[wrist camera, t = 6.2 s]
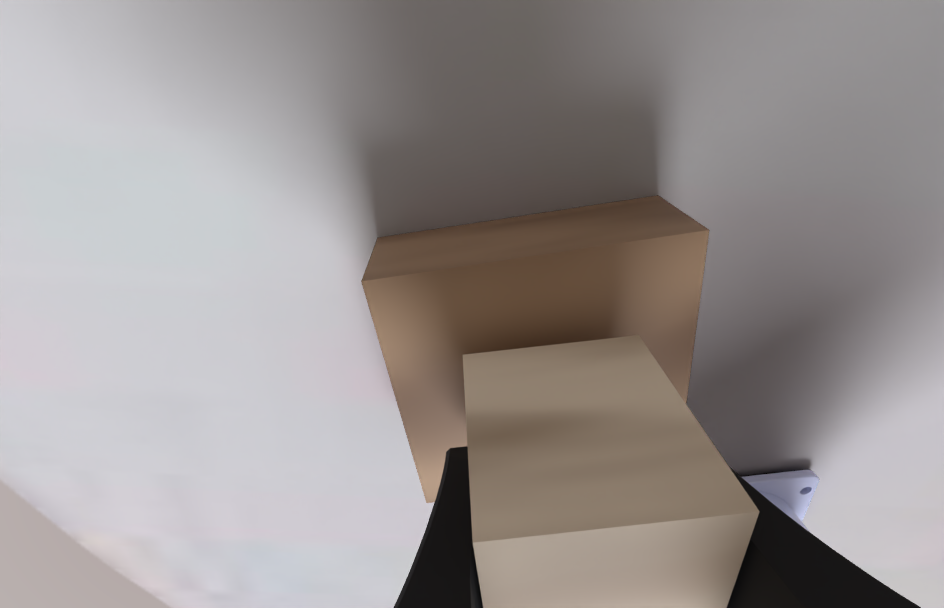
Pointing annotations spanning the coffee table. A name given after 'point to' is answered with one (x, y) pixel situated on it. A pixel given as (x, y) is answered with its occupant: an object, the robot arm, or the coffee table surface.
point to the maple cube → (596, 483)
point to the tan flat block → (528, 301)
